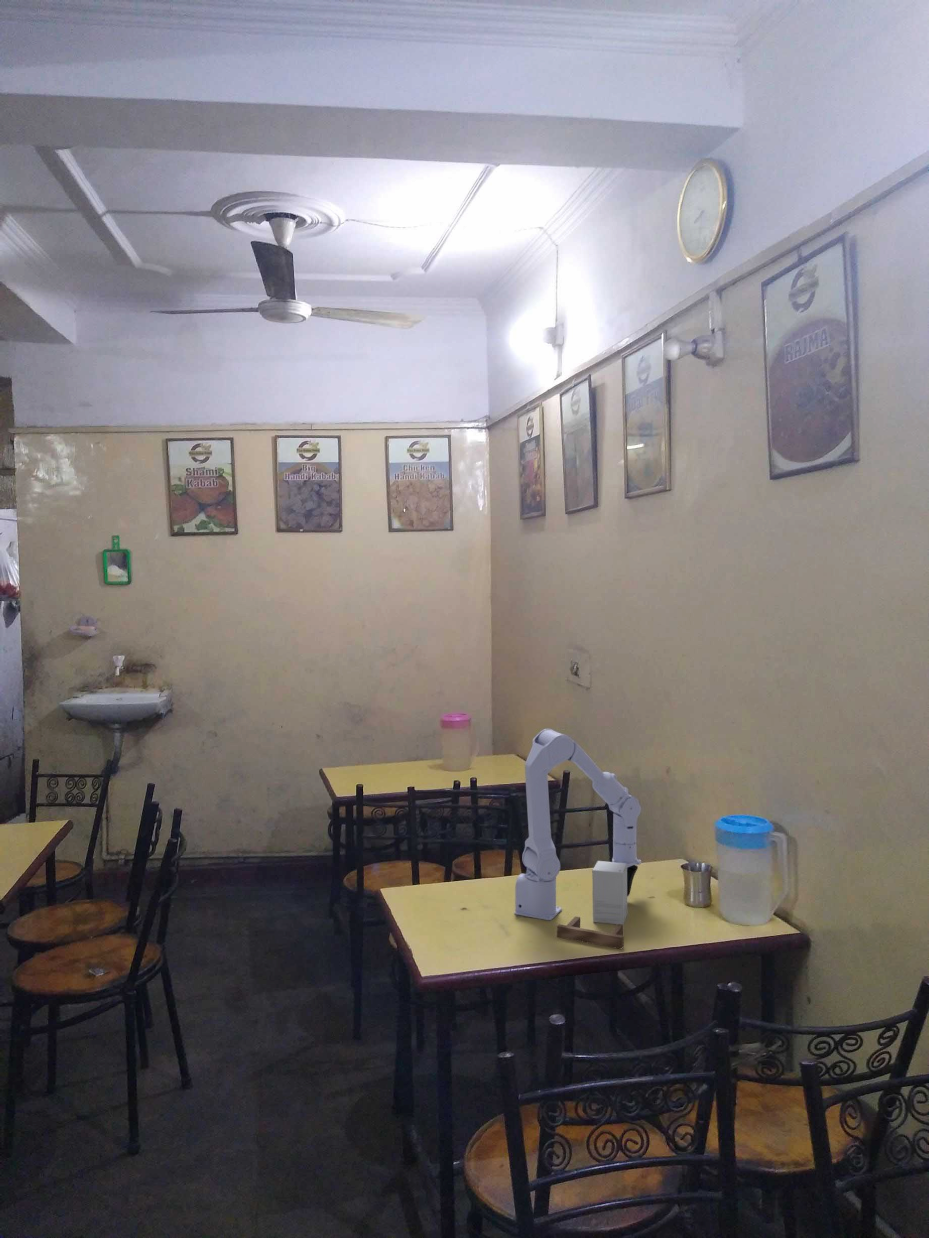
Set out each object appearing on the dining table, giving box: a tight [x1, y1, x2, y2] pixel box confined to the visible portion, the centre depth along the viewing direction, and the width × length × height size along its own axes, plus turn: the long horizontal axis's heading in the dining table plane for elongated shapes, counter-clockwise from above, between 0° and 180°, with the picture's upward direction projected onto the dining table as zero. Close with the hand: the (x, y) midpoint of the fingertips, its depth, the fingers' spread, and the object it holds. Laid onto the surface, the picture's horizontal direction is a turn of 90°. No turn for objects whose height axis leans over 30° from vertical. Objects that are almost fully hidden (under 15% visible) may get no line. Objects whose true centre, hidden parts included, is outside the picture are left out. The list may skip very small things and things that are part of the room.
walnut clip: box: [556, 916, 624, 949], centre depth 202 cm, size 15×7×2 cm, turn 63°
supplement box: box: [591, 860, 628, 926], centre depth 212 cm, size 7×7×13 cm
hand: (624, 895), depth 223 cm, fingers closed
